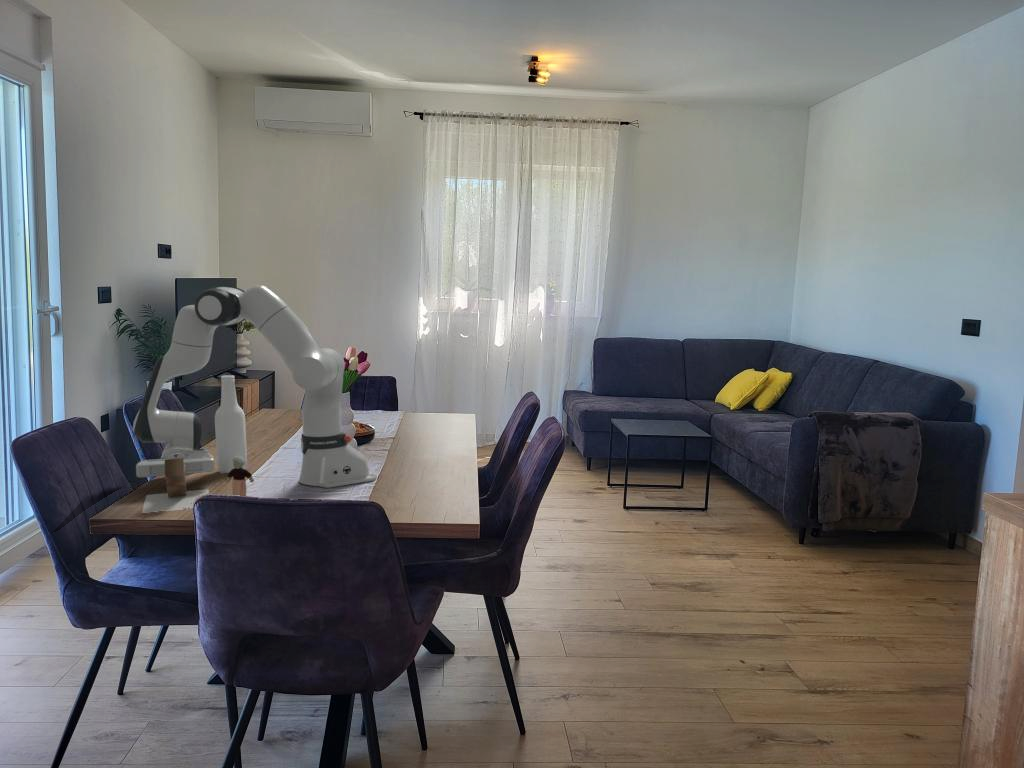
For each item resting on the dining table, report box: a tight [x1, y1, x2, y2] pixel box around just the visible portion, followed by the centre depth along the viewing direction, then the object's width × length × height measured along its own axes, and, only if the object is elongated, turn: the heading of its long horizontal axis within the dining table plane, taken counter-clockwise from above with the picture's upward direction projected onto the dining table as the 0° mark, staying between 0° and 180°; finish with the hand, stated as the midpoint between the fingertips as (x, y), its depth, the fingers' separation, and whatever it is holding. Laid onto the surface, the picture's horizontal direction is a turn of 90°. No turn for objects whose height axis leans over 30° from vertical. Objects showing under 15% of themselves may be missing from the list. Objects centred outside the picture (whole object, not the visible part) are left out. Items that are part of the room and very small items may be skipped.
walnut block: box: [164, 458, 187, 498], centre depth 208 cm, size 4×4×12 cm
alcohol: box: [214, 374, 248, 475], centre depth 238 cm, size 9×9×30 cm
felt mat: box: [141, 488, 210, 514], centre depth 207 cm, size 16×18×1 cm
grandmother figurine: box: [225, 456, 255, 497], centre depth 208 cm, size 8×4×13 cm, turn 95°
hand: (175, 472), depth 210 cm, fingers closed, pressing on walnut block
